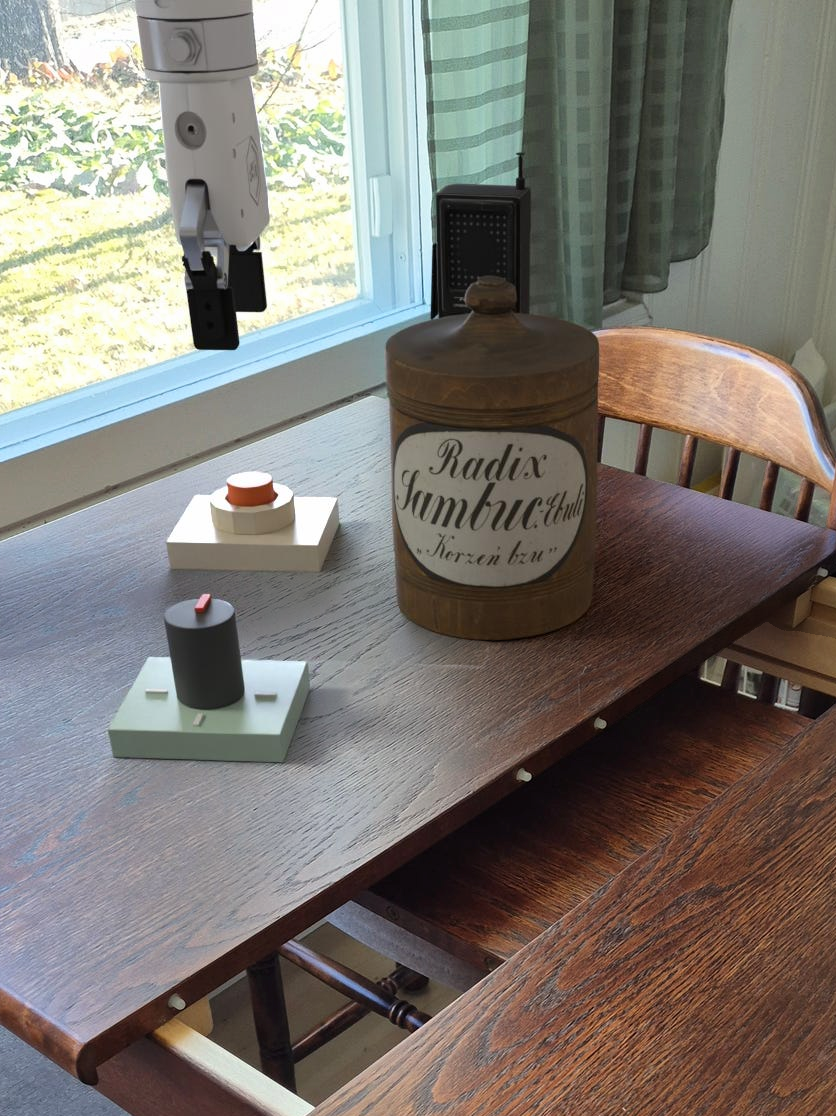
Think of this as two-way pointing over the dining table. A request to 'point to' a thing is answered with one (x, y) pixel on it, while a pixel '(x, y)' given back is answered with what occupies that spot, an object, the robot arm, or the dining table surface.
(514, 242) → the portable radio
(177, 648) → the dial
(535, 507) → the wooden container
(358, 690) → the dining table surface
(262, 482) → the button
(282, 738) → the panel
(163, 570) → the dining table surface
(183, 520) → the block
